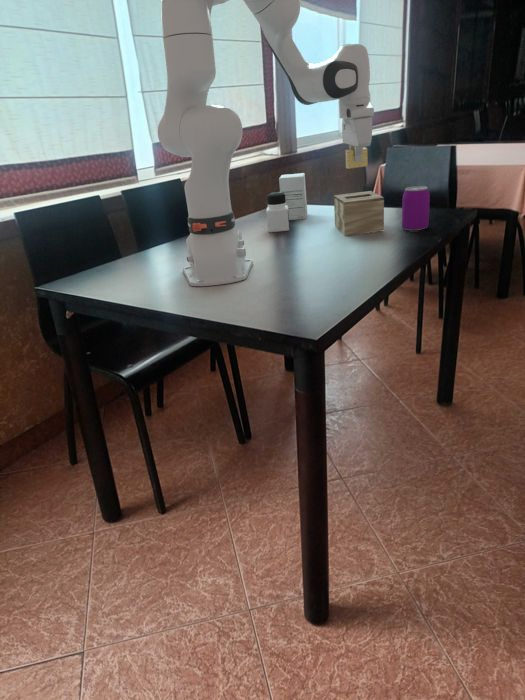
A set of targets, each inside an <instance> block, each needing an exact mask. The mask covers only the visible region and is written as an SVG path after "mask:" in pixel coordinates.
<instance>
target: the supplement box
mask: <svg viewBox="0 0 525 700" xmlns="http://www.w3.org/2000/svg"><path fill="white" fill-rule="evenodd" d="M305 175H306V174H305V172H301V173H299V172H298V173H293V174H292V173H289V174H281V175H280V177H279V178H278V181H279V183H278V184H279V192H282V193H284V194H285V198H286V205H287V206H288V214H289V221H293V220H307V217H308V203H307V202H308V199H307V187H306V176H305Z"/></svg>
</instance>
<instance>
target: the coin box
mask: <svg viewBox="0 0 525 700" xmlns="http://www.w3.org/2000/svg"><path fill="white" fill-rule="evenodd" d="M333 203H334V204H333V205H334V206H333V207H334V210H333V211H334V227H335V228H336V229H337V230H338V231H339V232H340V233H341V234H343V236H345V237H346V236H353V235H354V236H355V235H356V236H357V235H363V234H370V232H372V233H377V232H376V231H380V232H383V231H382V230H384V231H385V197H384V196H382V195H380V194H379V193H376V192H374V191H372V190H367V191H359V192H352V193H351V192H350V193H343V194H342V193H341V194H334V195H333Z"/></svg>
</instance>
